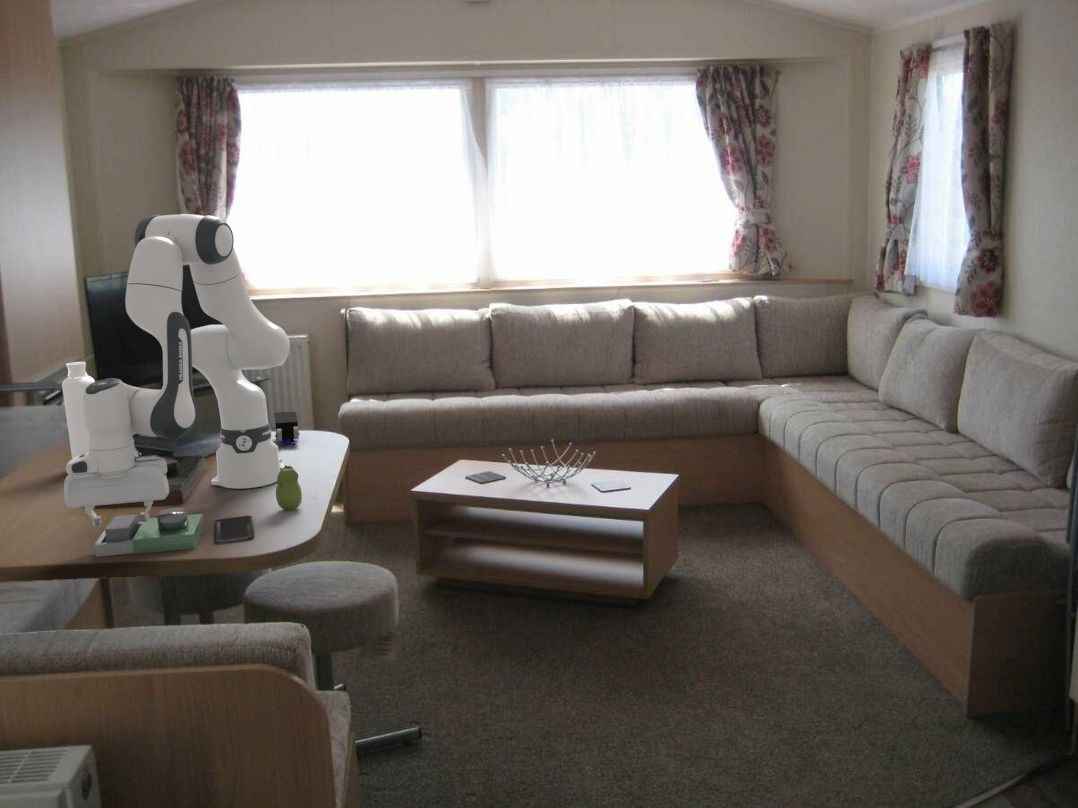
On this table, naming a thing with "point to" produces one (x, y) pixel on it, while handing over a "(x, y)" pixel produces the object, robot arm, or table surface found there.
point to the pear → (288, 489)
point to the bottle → (76, 406)
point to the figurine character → (286, 427)
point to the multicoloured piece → (157, 534)
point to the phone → (234, 529)
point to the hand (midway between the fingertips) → (121, 523)
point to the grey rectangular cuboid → (122, 528)
